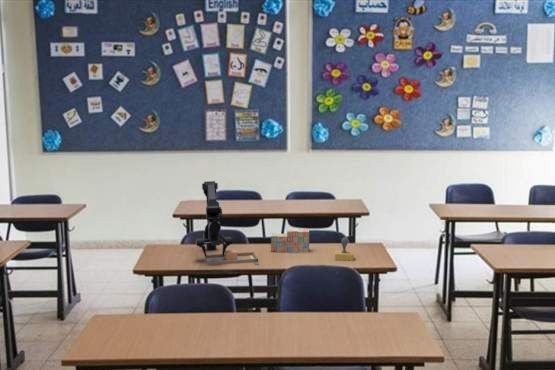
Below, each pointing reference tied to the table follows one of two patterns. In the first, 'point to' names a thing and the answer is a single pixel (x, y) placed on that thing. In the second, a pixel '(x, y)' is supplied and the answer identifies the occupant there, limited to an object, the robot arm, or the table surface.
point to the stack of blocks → (291, 241)
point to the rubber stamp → (344, 252)
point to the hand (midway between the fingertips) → (214, 257)
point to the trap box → (221, 260)
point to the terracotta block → (230, 254)
